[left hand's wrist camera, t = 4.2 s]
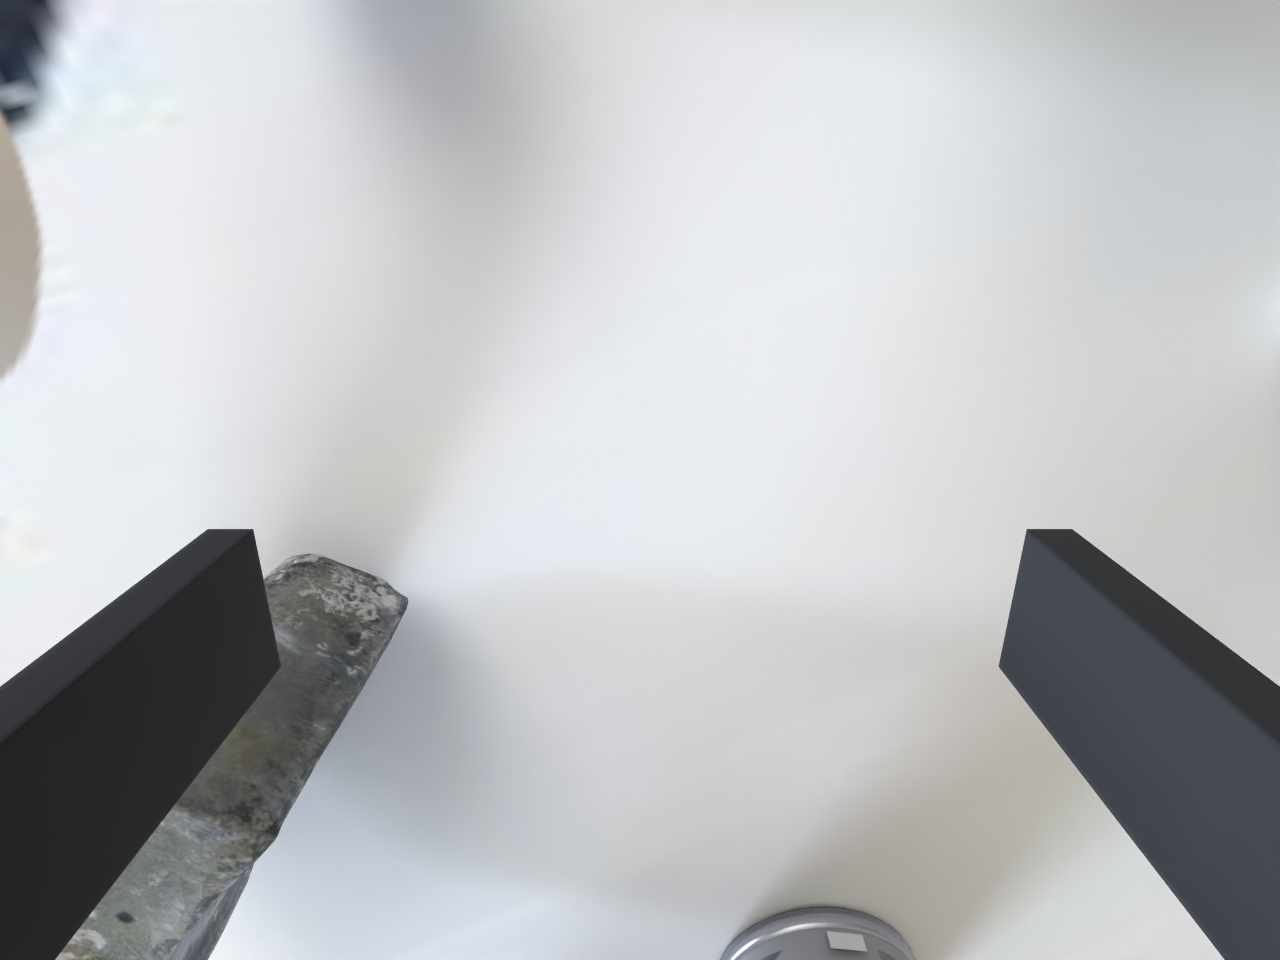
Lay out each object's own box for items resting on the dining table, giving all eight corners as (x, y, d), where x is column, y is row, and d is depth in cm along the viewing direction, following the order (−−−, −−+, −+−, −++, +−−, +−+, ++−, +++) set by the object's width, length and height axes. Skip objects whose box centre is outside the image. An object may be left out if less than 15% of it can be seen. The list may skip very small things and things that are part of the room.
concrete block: (306, 500, 42) (40, 739, 23) (444, 574, 44) (298, 852, 25) (146, 804, 50) (-148, 1163, 31) (268, 857, 52) (57, 1227, 33)
